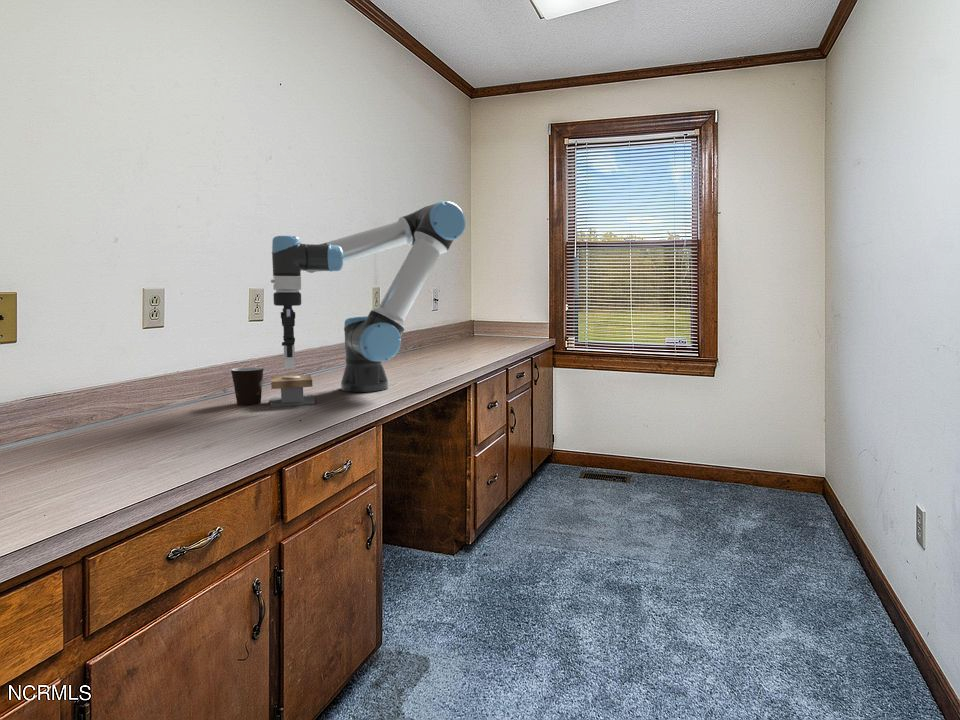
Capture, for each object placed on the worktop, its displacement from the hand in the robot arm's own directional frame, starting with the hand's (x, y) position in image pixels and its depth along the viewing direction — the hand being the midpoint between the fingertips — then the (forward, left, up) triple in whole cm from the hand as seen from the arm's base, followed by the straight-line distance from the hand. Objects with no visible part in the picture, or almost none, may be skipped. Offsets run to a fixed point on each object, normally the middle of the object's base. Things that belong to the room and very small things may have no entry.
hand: (289, 366), depth 184 cm
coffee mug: (+11, -4, -11) cm, 15 cm away
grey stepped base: (0, 0, -10) cm, 10 cm away
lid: (0, 0, -5) cm, 5 cm away
